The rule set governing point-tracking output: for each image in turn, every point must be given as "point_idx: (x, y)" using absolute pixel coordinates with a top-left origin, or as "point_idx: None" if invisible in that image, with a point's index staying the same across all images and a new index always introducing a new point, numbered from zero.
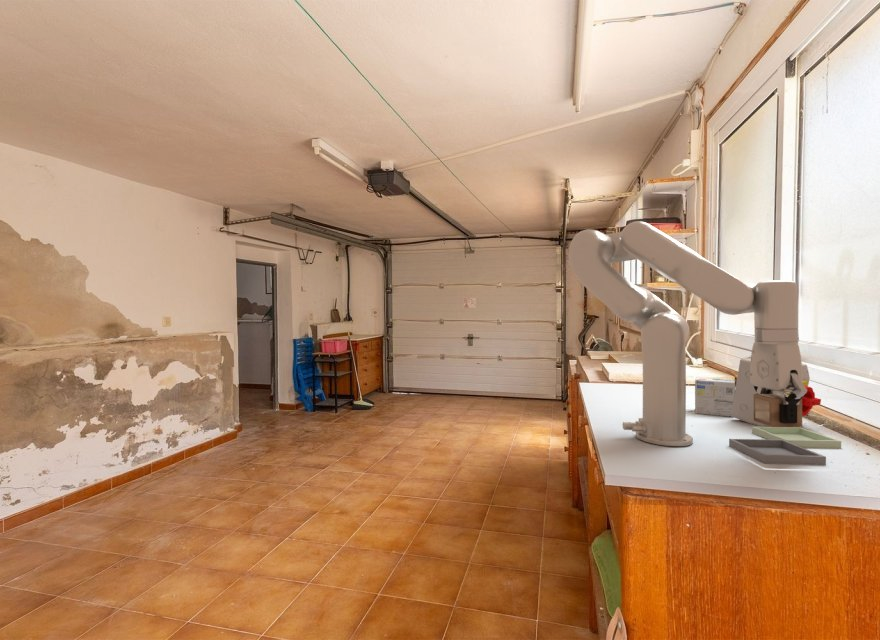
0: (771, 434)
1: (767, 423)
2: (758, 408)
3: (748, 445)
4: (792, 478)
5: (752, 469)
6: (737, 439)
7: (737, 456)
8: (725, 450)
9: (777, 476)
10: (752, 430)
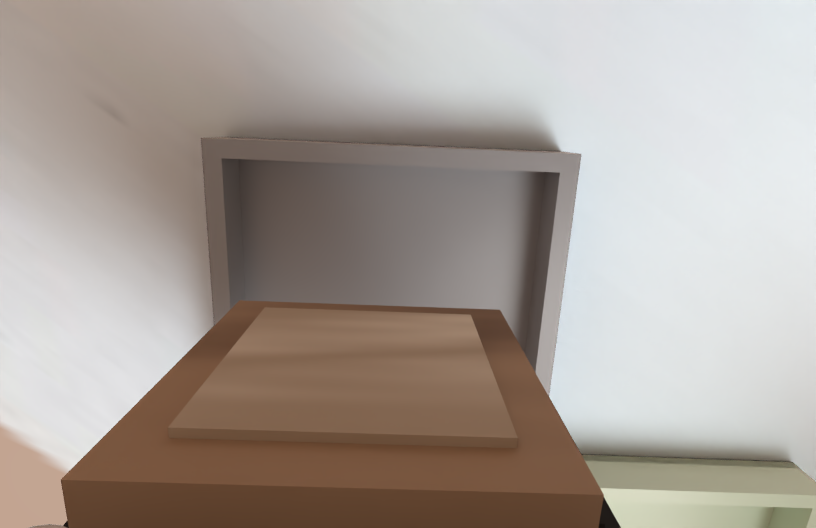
0: (651, 489)
1: (303, 308)
2: (427, 360)
3: (537, 262)
4: (28, 141)
5: (141, 8)
6: (558, 201)
7: (380, 81)
8: (500, 82)
9: (44, 78)
10: (808, 478)
